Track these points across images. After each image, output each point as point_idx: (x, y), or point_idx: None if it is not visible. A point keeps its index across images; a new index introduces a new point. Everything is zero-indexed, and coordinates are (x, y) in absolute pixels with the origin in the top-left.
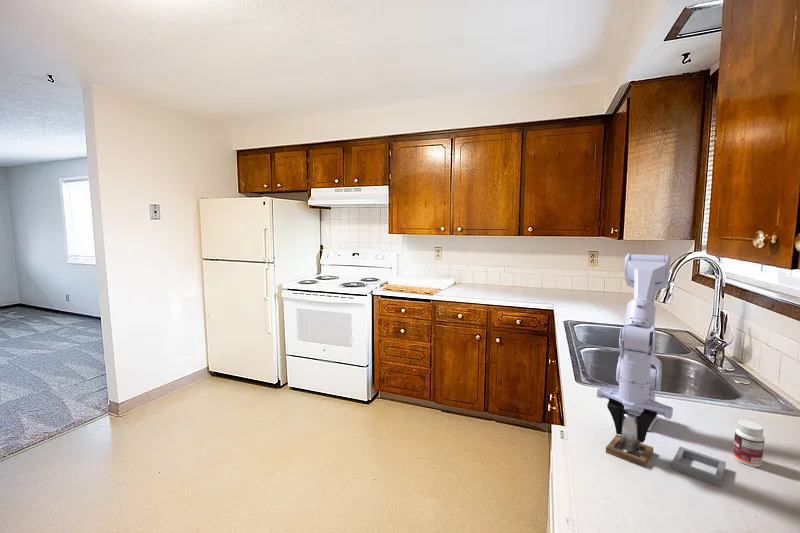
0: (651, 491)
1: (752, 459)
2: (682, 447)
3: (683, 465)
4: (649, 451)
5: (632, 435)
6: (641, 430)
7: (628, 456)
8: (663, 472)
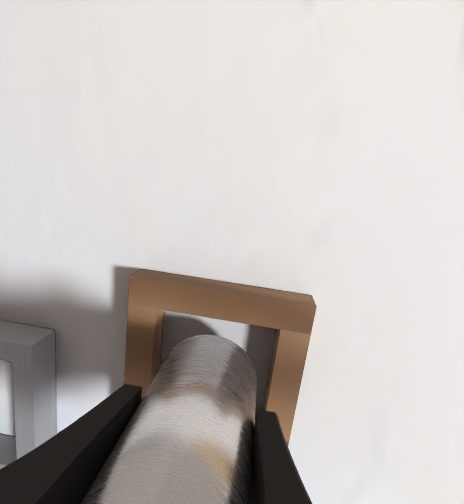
0: (80, 82)
1: None
2: None
3: None
4: None
5: (164, 400)
6: (73, 446)
7: (202, 288)
8: (73, 279)
